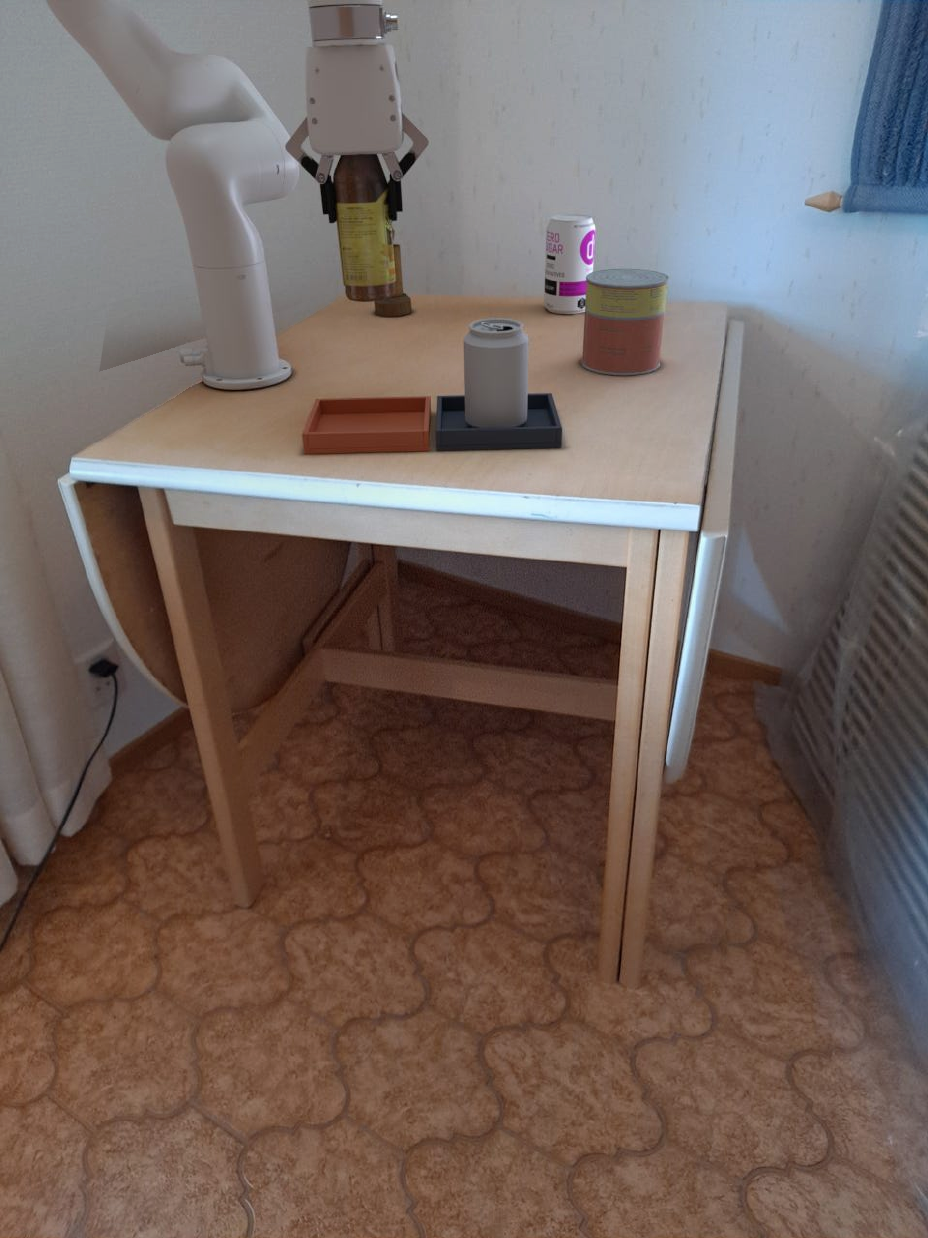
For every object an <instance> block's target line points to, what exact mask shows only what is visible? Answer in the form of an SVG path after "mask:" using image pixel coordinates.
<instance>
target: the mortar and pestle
mask: <svg viewBox="0 0 928 1238" xmlns="http://www.w3.org/2000/svg"><path fill="white" fill-rule="evenodd" d="M391 223H392V224H393V221H392V220H391ZM395 235H396V231H395V230H394V228H393V227H392V237H393V241H394V240H395ZM393 250H394V263H395V276H396V281H395V282H394V284H395V294H394V296H393V297H391V298H388V299H386V300H380V301H374V312H375V314H376V315H377V316H380V317H389V318H390V317H401V316H406V315H409V314H411V313H412V299H411V297H410V296H409V295H408V294H407V293H405V292H404V283H403V271H402V269H403V268H402V252H401V250H402V249H401V244H399V243H398V244H397V243H393Z"/></svg>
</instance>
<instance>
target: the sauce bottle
mask: <svg viewBox="0 0 928 1238" xmlns="http://www.w3.org/2000/svg"><path fill="white" fill-rule="evenodd" d="M378 155H379V154H358V155H339V159H338V161H337V164H336V167H335V168H334V171H333V176H332V182H333V184H334V193H335V202H336V203H335V211H336V228H337V229H336V230H337V237H338V247H339V256H340V265H341V275H342V284H343V286H344V292H345V293H344V294H345V296H346V298H347V299H348V300H349V301H351V302H352V301H353V302H358V303H359V302H360V303H371V302H375V301H380V300H386V299H388V298H391V297H393V296H394V294H395V284H394V282H395V281H396V276H395V263H394V250H393V244H394V240H393V237H392V228H393V222H392V223H391V220H390V207H389V193H388V180H387V178H386V174H385V172H384V169H383V166H382V164H381V161H380V158H379V156H378Z"/></svg>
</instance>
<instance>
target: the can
mask: <svg viewBox="0 0 928 1238" xmlns="http://www.w3.org/2000/svg"><path fill="white" fill-rule="evenodd" d="M468 329H469V330H468V332H467V333H466V334H465V336H464V337H463V341H462V342H463V383H464V387H463V388H464V395H465V420H466V422H467V423H468V424H470V425H471V426H472V427H473V428H504V427H520V426H521V425H522V424H523V423H525V421H526V420H527V401H528V394H529V393H528V392H529V346H530V345H529V343H530V342H529V341H530V340H529V336H528V334H526V333H527V332H525V331H524V330H523V329H524V324H523V323H522V322H521V321H519V320H516V319H512V318H506V317H505V318H503V317H497V318H496V317H492V318H482V319H478V320H474V321H472V322H470V323H469V324H468Z"/></svg>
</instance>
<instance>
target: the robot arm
mask: <svg viewBox="0 0 928 1238" xmlns="http://www.w3.org/2000/svg"><path fill="white" fill-rule="evenodd" d="M44 1H45V3H46V5H47V7H49V9H50V11H51V12H52V14H53V15H54V17H55V18H56V19H57V20H58V22H59V23H60V24H61V26H62V27H63V28H64V29H65V31H66V32H67V33H68V34H69V35H70V36H71V38H73V40H75V42H76V43H77V44H79V46H80V47H81V48H82V49H83V50H84V51H85V53H87V54H88V55H89V57H91V59H92V60H93V61H94V63H96V65H97V66H98V67H99V69H100V70H101V71H102V73H103V74H104V76H105V78H106V79H107V80H108V81H109V83H110V84H111V86H112V87H113V88H114V90H115V91H116V92H117V94H118V95H119V96H120V98H121V99H122V100H123V102H124V103H125V104H126V106H127V108H128V109H129V111H131V113H132V114H133V116H134V118H136V120H137V121H138V122H139V123H140V125H141V126H142V127H143V129H145V131H147V133H149V134H150V135H151V136H152V137H154V138H156V139H158V140H161V141H167V142H168V144H167V147H166V151H165V168H166V172H167V176H168V179H169V183H170V185H171V188H172V191H173V193H174V197H175V199H176V202H177V204H178V207H179V210H180V214H181V218H182V221H183V225H184V229H185V233H186V238H187V242H188V248H189V252H190V258H191V264H192V269H193V275H194V279H195V284H196V285H195V286H196V290H197V295H198V301H199V306H200V312H201V318H202V324H203V329H204V335H205V340H206V346H204V345H203V346H201V348H197V349H194V348H180V349H179V359H180V362H181V363H182V364H184V365H185V367H194V366H195V367H196V366H201V367H202V368H204V369H202V371H201V373H200V375H201V380H202V382H203V384H205V385H206V386H208V387H211V388H215V389H218V390H219V389H220V390H228V391H229V390H230V391H231V390H232V391H241V390H242V391H243V390H253V389H260V388H266V387H270V386H273V385H276V384H279V383H282V382H283V381H285V380H288V378H290V376H292V365H291V363H290V362H288V361H287V360H284V359H282V358H280V357H279V350H278V342H277V336H276V328H275V327H276V326H275V321H274V314H273V306H272V299H271V293H270V291H271V290H270V285H269V276H268V269H267V262H266V255H265V250H264V245H263V241H262V238H261V235H260V233H259V231H258V229H257V228H256V226H255V224H254V223H253V221H252V220H251V219H250V217H249V216H248V214H247V213H246V211H245V209H244V206H248V205H253V204H260V203H264V202H271V201H276V200H279V199H282V198H284V197H286V196H288V195H290V194H291V193H292V192H293V191H294V189H295V187H296V186H297V184H298V182H299V179H300V165H301V167H302V168H303V169H304V170H305V171H306V172H307V173H308V174H309V175H310V176H311V177H312V178H313V179H314V180H315V181H316V182H317V183H318V184H319V191H320V200H321V210H322V215H324V216H325V215H327V216H328V223H329V224H335V223H337V221H336V211H335V203H336V202H335V193H334V184H333V179H332V176H331V171H332V168H333V164H334V160H335V157H336V156H341V155H358V154H377V155H381V156H382V159H383V161H384V163H385V165H386V167H387V169H388V171H389V174H388V175H389V176H388V177H389V180H387V183H388V193H389V207H390V220H392V222H397V221H398V213H403V212H404V206H403V190H402V189H403V188H402V180H403V178H404V177H405V176H406V174H407V173H408V172H409V171H410V169H411V168H412V167H413V166H414V165H415V163H416V161H417V160H418V159H419V158H420V157H421V155H422V154H423V153H424V152H425V150H426V149H427V147H429V142H430V141H429V138H428V137H427V136H426V134H424V133H423V132H422V130H420V129H419V127H417V126H416V124H414V123H413V121H412V120H410V118H408V116H407V115H406V114H404V113H403V105H402V95H401V94H402V93H401V86H400V77H399V71H398V65H397V60H396V55H395V49H394V45H393V44H386V35H388V33H391V32H392V31H399V19H398V14H391V13H390V12H387V11H386V10H384V7H383V0H307V5H308V14H309V26H310V36H311V43H312V46H308V47H306V52H305V70H304V71H305V101H306V102H305V103H306V104H305V105H306V117H304V119H303V121H302V122H301V123H300V125H299V126H298V128H297V129H296V130H295V131H294V133H293V134H292V135H291V136H290V134H289V132H288V131H287V129H286V128H285V126H284V125H283V124H282V122H281V121H280V119H279V118H278V117H277V115H276V114H275V113H274V111H273V109H272V108H271V107H270V105H269V104H268V103H267V102H266V100H265V99H264V97H263V96H262V94H261V93H260V92H259V90H258V89H257V88H256V87H255V86H254V84H253V83H252V81H251V80H250V78H249V77H248V76H247V75H246V74H245V72H244V71H243V70H242V68H240V66H238V65H237V64H235V63H234V62H233V61H231V60H229V59H228V58H227V57H224V56H221V55H217V54H211V53H183V52H178V51H175V50H173V49H171V48H170V47H169V46H168V45H167V44H166V42H165V41H164V40H163V39H162V38H161V36H159V34H158V33H157V31H156V30H155V28H154V26H153V25H152V24H151V23H150V22H149V21H148V20H147V18H146V17H145V16H144V15H143V14H141V13H140V12H139V11H138V10H137V9H135V7H133V6H132V5H130V4H129V3H127V2H126V1H124V0H44ZM404 134H405V135H406V136H407V137H408V138H410V139H411V142H412V145H411V146H410V148H409V149H408V151H407V152H406V153H405V154H404V155H403V157H402V158H401V160H400V161H399V159H398V157H397V155H396V151H398V150H399V149H400V148H401V147H402V144H403V143H404V136H405V135H404ZM307 139H308V140H309V145H310V149H311V150H312V151H313V152H314V153H316V154H318V155H320V158H319V159H320V160H319V162H317V161H316V160H315V159H314V158H313V157H312V156H311V155H309V154H308V153H307V152H306V150H305V149H304V148H303V144H304V143H305V141H306V140H307Z"/></svg>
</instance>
